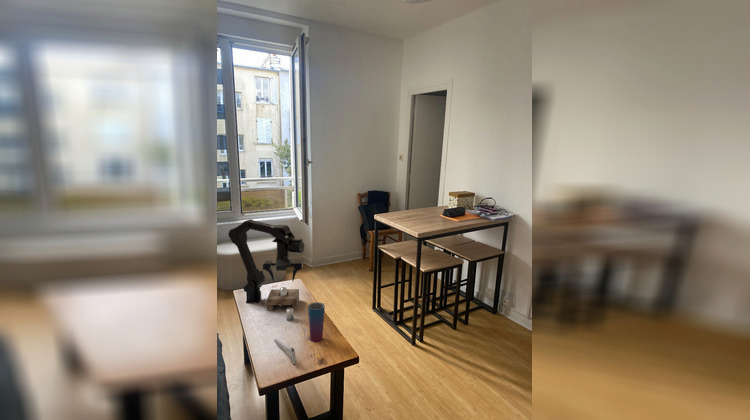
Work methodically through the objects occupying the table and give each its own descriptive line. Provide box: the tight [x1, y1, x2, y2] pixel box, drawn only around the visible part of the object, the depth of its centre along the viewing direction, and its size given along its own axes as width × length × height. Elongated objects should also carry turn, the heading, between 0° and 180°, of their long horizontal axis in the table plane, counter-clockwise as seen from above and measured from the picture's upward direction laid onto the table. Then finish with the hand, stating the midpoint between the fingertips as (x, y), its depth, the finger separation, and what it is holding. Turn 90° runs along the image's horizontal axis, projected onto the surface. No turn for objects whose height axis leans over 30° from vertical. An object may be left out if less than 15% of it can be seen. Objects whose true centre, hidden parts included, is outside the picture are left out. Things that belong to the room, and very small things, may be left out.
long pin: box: [279, 286, 288, 308], centre depth 185 cm, size 3×3×9 cm
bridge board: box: [266, 288, 300, 312], centre depth 186 cm, size 14×12×6 cm
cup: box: [307, 301, 326, 343], centre depth 155 cm, size 7×7×15 cm
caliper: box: [273, 338, 297, 366], centre depth 145 cm, size 20×1×6 cm, turn 35°
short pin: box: [285, 307, 295, 322], centre depth 172 cm, size 3×3×5 cm
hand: (283, 281), depth 184 cm, fingers open, 9 cm apart
